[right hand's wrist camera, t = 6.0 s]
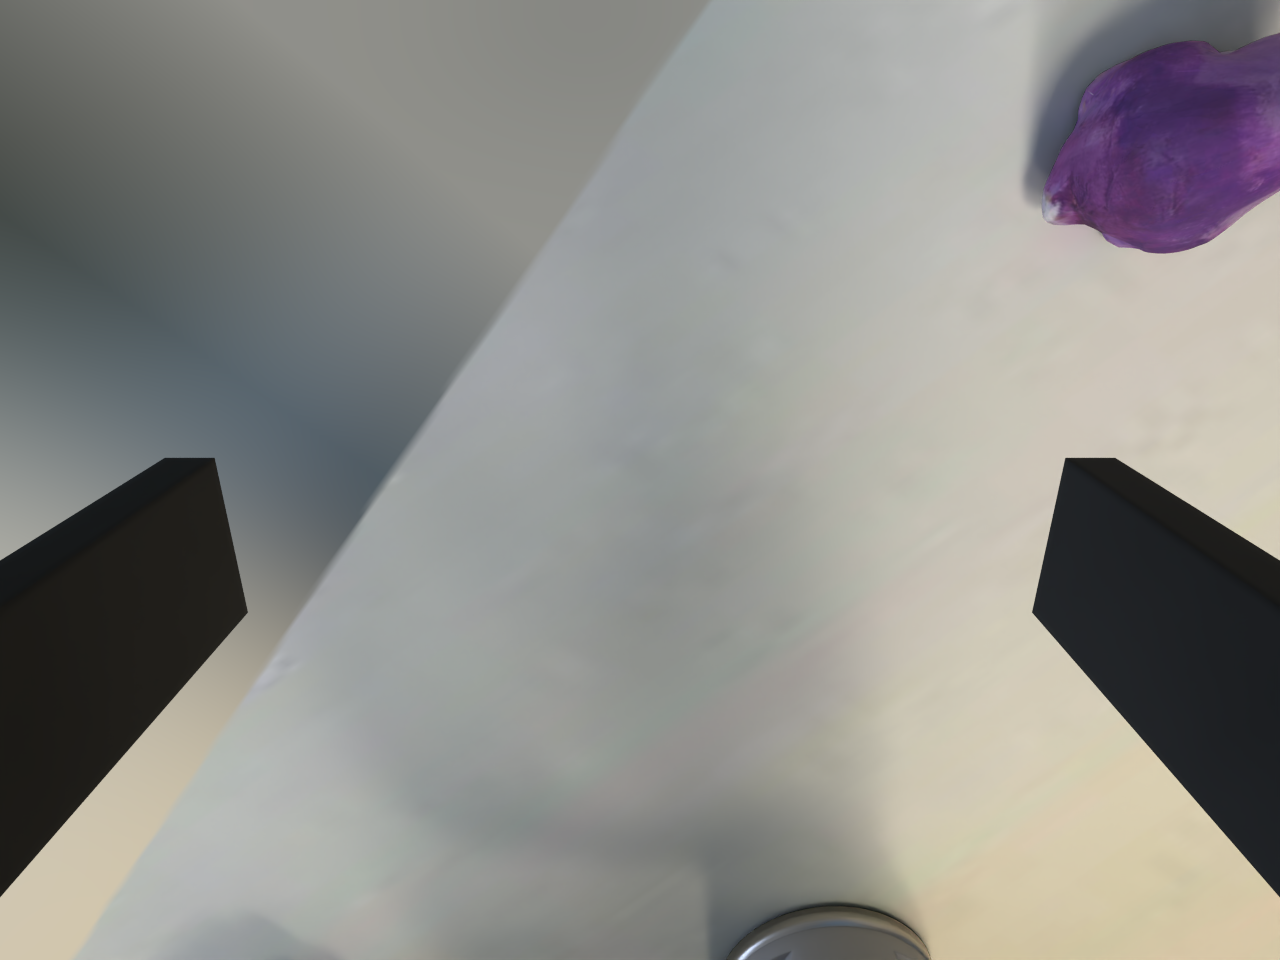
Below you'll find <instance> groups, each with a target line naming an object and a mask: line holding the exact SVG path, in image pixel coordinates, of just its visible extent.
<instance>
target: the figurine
mask: <svg viewBox="0 0 1280 960" xmlns="http://www.w3.org/2000/svg"><path fill="white" fill-rule="evenodd" d="M1279 191H1280V33H1278V34H1275V35H1271V36H1267V37H1264V38H1262V39H1259V40H1257V41H1255V42H1252V43H1250V44H1248V45H1246V46H1244V47H1242V48H1240V49H1238V50H1232V51H1224V52H1218V51H1217V50H1216V49H1215V48H1214V47H1212V46H1211V45H1210V44H1209V43H1207V42H1204V41H1184V42H1176V43H1171V44H1167V45H1163V46H1160V47H1157V48H1155V49H1152V50H1149V51H1146V52H1144V53H1142V54H1140V55H1138V56H1135V57H1134V58H1132V59H1129V60H1127V61H1125V62H1122V63H1120V64H1117V65H1115V66H1113V67H1112V68H1110V69H1108V70H1106V71H1105V72H1103V73H1101V74H1099V75H1098V76H1097V78H1096V79H1095V80H1094V81H1093V82H1092V83H1091V84H1090V85H1089V86H1088V87H1087V88H1086V90H1085V93H1084V95H1083V97H1082V100H1081V103H1080V106H1079V109H1078V120H1077V123H1076V125H1075V128H1074V130H1073V132H1072V133H1071V135H1070V136H1069V137H1068V139H1067V140H1066V142H1065V144H1064V145H1063V147H1062V148H1061V151H1060V153H1059V155H1058V157H1057V160H1056V162H1055V164H1054V166H1053V168H1052V171H1051V173H1050V175H1049V177H1048V179H1047V182H1046V184H1045V187H1044V190H1043V196H1042V214H1043V218H1044V219H1045V221H1046V222H1048V223H1050V224H1053V225H1073V224H1085V225H1087V226H1090V227H1092V228H1094V229H1096V230H1098V231H1100V232H1102V234H1103V236H1104V238H1105V239H1106V240H1107V241H1108V242H1110V243H1112V244H1114V245H1115V246H1117V247H1125V248H1136V249H1140V250H1142V251H1145V252H1149V253H1174V252H1180V251H1184V250H1188V249H1191V248H1194V247H1197V246H1199V245H1202V244H1205V243H1207V242H1209V241H1210V240H1212V239H1214V238H1215V237H1216V236H1218V235H1219V234H1220V233H1222V232H1223V231H1224V230H1226V229H1227V228H1228V227H1230V226H1231V225H1232V224H1234V223H1235V222H1236V221H1237V220H1238V219H1239V218H1241V217H1242V216H1243V215H1244V214H1245V213H1247V212H1248V211H1250V210H1251V209H1252V208H1254V207H1255V206H1257V205H1258V204H1260V203H1261V202H1263V201H1264V200H1266V199H1267V198H1269V197H1270V196H1272V195H1274V194H1275V193H1277V192H1279Z"/></svg>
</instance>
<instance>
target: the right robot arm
mask: <svg viewBox="0 0 1280 960" xmlns="http://www.w3.org/2000/svg"><path fill="white" fill-rule="evenodd" d="M247 613H248V611H247V606H246V602H245V597H244V592H243V588H242V583H241V579H240V574H239V569H238V565H237V560H236V555H235V551H234V546H233V542H232V537H231V532H230V527H229V523H228V518H227V514H226V509H225V504H224V500H223V495H222V490H221V486H220V481H219V476H218V472H217V467H216V463H215V458H164V459H162V460H161V461H159V462H158V463H156V464H154V465H153V466H151V467H150V468H148V469H146V470H145V471H143V472H142V473H140V474H138V475H137V476H135V477H134V478H132V479H130V480H129V481H127V482H126V483H124V484H122V485H121V486H119V487H118V488H116V489H114V490H113V491H111V492H109V493H108V494H106V495H105V496H103V497H102V498H100V499H98V500H97V501H95V502H93V503H92V504H90V505H89V506H87V507H85V508H84V509H82V510H81V511H79V512H78V513H76V514H74V515H73V516H71V517H69V518H68V519H66V520H65V521H63V522H61V523H60V524H58V525H57V526H55V527H53V528H52V529H50V530H49V531H47V532H45V533H44V534H42V535H41V536H39V537H37V538H36V539H34V540H32V541H31V542H29V543H28V544H26V545H24V546H23V547H21V548H20V549H18V550H17V551H15V552H13V553H12V554H10V555H8V556H7V557H5V558H4V559H2V560H0V897H1V896H2V894H3V893H4V892H5V891H6V890H7V889H8V888H9V886H10V885H11V884H12V883H13V882H14V881H15V879H16V878H17V877H18V876H19V875H20V874H21V873H22V871H23V870H24V869H25V868H26V867H27V866H28V864H29V863H30V862H31V861H32V860H33V859H34V858H35V856H36V855H37V854H38V853H39V852H40V851H41V850H42V848H43V847H44V846H45V845H46V844H47V843H48V842H49V840H50V839H51V838H52V837H53V836H54V835H55V833H56V832H57V831H58V830H59V829H60V828H61V827H62V825H63V824H64V823H65V822H66V821H67V820H68V818H69V817H70V816H71V815H72V814H73V813H74V812H75V811H76V809H77V808H78V807H79V806H80V805H81V804H82V802H83V801H84V800H85V799H86V798H87V797H88V796H89V794H90V793H91V792H92V791H93V790H94V789H95V787H96V786H97V785H98V784H99V783H100V782H101V781H102V779H103V778H104V777H105V776H106V775H107V774H108V773H109V771H110V770H111V769H112V768H113V767H114V766H115V765H116V763H117V762H118V761H119V760H120V759H121V758H122V756H123V755H124V754H125V753H126V752H127V751H128V750H129V748H130V747H131V746H132V745H133V744H134V743H135V741H136V740H137V739H138V738H139V737H140V736H141V735H142V733H143V732H144V731H145V730H146V729H147V728H148V727H149V725H150V724H151V723H152V722H153V721H154V720H155V719H156V717H157V716H158V715H159V714H160V713H161V712H162V710H163V709H164V708H165V707H166V706H167V705H168V704H169V702H170V701H171V700H172V699H173V698H174V697H175V696H176V694H177V693H178V692H179V691H180V690H181V689H182V688H183V686H184V685H185V684H186V683H187V682H188V681H189V679H190V678H191V677H192V676H193V675H194V674H195V673H196V671H197V670H198V669H199V668H200V667H201V666H202V664H203V663H204V662H205V661H206V660H207V659H208V658H209V656H210V655H211V654H212V653H213V652H214V651H215V650H216V648H217V647H218V646H219V645H220V644H221V643H222V642H223V640H224V639H225V638H226V637H227V636H228V635H229V634H230V632H231V631H232V630H233V629H234V628H235V627H236V625H237V624H238V623H239V622H240V621H241V620H242V619H243V617H244V616H245V615H246V614H247ZM1032 613H1033V614H1034V615H1035V616H1036V617H1037V619H1038V620H1039V621H1040V622H1041V623H1042V624H1043V625H1044V627H1045V628H1046V629H1047V630H1048V631H1049V632H1050V634H1051V635H1052V636H1053V637H1054V638H1055V639H1056V640H1057V642H1058V643H1059V644H1060V645H1061V646H1062V647H1063V648H1064V650H1065V651H1066V652H1067V653H1068V654H1069V655H1070V656H1071V658H1072V659H1073V660H1074V661H1075V662H1076V663H1077V665H1078V666H1079V667H1080V668H1081V669H1082V670H1083V671H1084V673H1085V674H1086V675H1087V676H1088V677H1089V678H1090V679H1091V681H1092V682H1093V683H1094V684H1095V685H1096V686H1097V688H1098V689H1099V690H1100V691H1101V692H1102V693H1103V694H1104V696H1105V697H1106V698H1107V699H1108V700H1109V701H1110V702H1111V704H1112V705H1113V706H1114V707H1115V708H1116V709H1117V711H1118V712H1119V713H1120V714H1121V715H1122V716H1123V717H1124V719H1125V720H1126V721H1127V722H1128V723H1129V724H1130V725H1131V727H1132V728H1133V729H1134V730H1135V731H1136V732H1137V734H1138V735H1139V736H1140V737H1141V738H1142V739H1143V740H1144V742H1145V743H1146V744H1147V745H1148V746H1149V747H1150V748H1151V750H1152V751H1153V752H1154V753H1155V754H1156V755H1157V757H1158V758H1159V759H1160V760H1161V761H1162V762H1163V763H1164V765H1165V766H1166V767H1167V768H1168V769H1169V770H1170V771H1171V773H1172V774H1173V775H1174V776H1175V777H1176V778H1177V779H1178V781H1179V782H1180V783H1181V784H1182V785H1183V786H1184V788H1185V789H1186V790H1187V791H1188V792H1189V793H1190V794H1191V796H1192V797H1193V798H1194V799H1195V800H1196V801H1197V802H1198V804H1199V805H1200V806H1201V807H1202V808H1203V809H1204V811H1205V812H1206V813H1207V814H1208V815H1209V816H1210V817H1211V819H1212V820H1213V821H1214V822H1215V823H1216V824H1217V825H1218V827H1219V828H1220V829H1221V830H1222V831H1223V832H1224V834H1225V835H1226V836H1227V837H1228V838H1229V839H1230V840H1231V842H1232V843H1233V844H1234V845H1235V846H1236V847H1237V848H1238V850H1239V851H1240V852H1241V853H1242V854H1243V855H1244V857H1245V858H1246V859H1247V860H1248V861H1249V862H1250V863H1251V865H1252V866H1253V867H1254V868H1255V869H1256V870H1257V871H1258V873H1259V874H1260V875H1261V876H1262V877H1263V878H1264V879H1265V881H1266V882H1267V883H1268V884H1269V885H1270V886H1271V888H1272V889H1273V890H1274V891H1275V892H1276V893H1277V894H1278V896H1279V897H1280V560H1278V559H1276V558H1275V557H1273V556H1272V555H1270V554H1268V553H1267V552H1265V551H1264V550H1262V549H1260V548H1259V547H1257V546H1256V545H1254V544H1252V543H1251V542H1249V541H1248V540H1246V539H1244V538H1243V537H1241V536H1239V535H1238V534H1236V533H1235V532H1233V531H1231V530H1230V529H1228V528H1227V527H1225V526H1223V525H1222V524H1220V523H1219V522H1217V521H1215V520H1214V519H1212V518H1211V517H1209V516H1207V515H1206V514H1204V513H1203V512H1201V511H1199V510H1198V509H1196V508H1195V507H1193V506H1191V505H1190V504H1188V503H1187V502H1185V501H1183V500H1182V499H1180V498H1179V497H1177V496H1175V495H1174V494H1172V493H1171V492H1169V491H1167V490H1166V489H1164V488H1163V487H1161V486H1159V485H1158V484H1156V483H1154V482H1153V481H1151V480H1150V479H1148V478H1146V477H1145V476H1143V475H1142V474H1140V473H1138V472H1137V471H1135V470H1134V469H1132V468H1130V467H1129V466H1127V465H1126V464H1124V463H1122V462H1121V461H1119V460H1118V459H1116V458H1065V463H1064V467H1063V472H1062V476H1061V481H1060V486H1059V490H1058V495H1057V500H1056V504H1055V509H1054V514H1053V518H1052V523H1051V527H1050V532H1049V537H1048V541H1047V546H1046V551H1045V555H1044V560H1043V565H1042V569H1041V574H1040V579H1039V583H1038V588H1037V592H1036V597H1035V602H1034V606H1033V611H1032ZM727 960H931V958H930V955H929V953H928V951H927V949H926V947H925V945H924V944H923V942H922V941H921V940H920V939H919V938H918V936H917V935H916V934H915V933H914V932H912V931H911V930H910V929H909V928H908V927H906V926H905V925H903V924H902V923H900V922H898V921H897V920H895V919H893V918H891V917H888V916H886V915H883V914H881V913H878V912H874V911H871V910H867V909H861V908H855V907H845V906H826V907H816V908H809V909H804V910H799V911H795V912H792V913H789V914H786V915H782V916H780V917H778V918H775V919H773V920H771V921H769V922H767V923H765V924H763V925H761V926H760V927H758V928H756V929H755V930H753V931H752V932H751V933H749V934H748V935H747V936H746V937H745V938H743V939H742V940H741V941H740V942H739V943H738V944H737V945H736V947H735V948H734V949H733V950H732V952H731V953H730V954H729V956H728V958H727Z"/></svg>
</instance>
